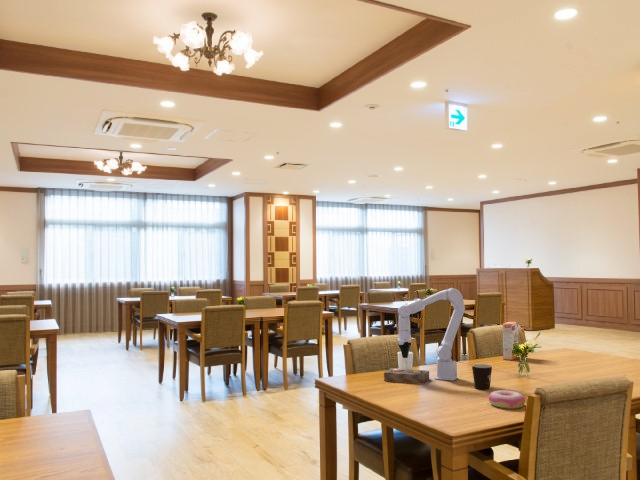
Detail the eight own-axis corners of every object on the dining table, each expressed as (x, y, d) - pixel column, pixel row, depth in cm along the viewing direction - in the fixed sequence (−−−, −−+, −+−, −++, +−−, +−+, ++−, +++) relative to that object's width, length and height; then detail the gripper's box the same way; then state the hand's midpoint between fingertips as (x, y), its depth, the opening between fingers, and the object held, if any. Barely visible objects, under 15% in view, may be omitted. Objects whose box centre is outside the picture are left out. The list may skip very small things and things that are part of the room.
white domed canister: (422, 379, 265) (422, 371, 265) (419, 381, 261) (419, 373, 261) (412, 378, 267) (412, 371, 267) (409, 380, 263) (409, 372, 263)
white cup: (396, 372, 283) (395, 353, 284) (399, 370, 291) (399, 350, 291) (411, 373, 280) (411, 354, 281) (414, 371, 288) (414, 351, 288)
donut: (484, 407, 215) (484, 394, 215) (494, 400, 226) (494, 387, 226) (520, 412, 208) (519, 398, 208) (528, 404, 219) (528, 391, 219)
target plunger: (404, 376, 269) (404, 368, 269) (401, 377, 264) (401, 370, 265) (394, 375, 271) (394, 368, 271) (391, 377, 266) (391, 369, 267)
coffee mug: (482, 391, 240) (481, 368, 241) (468, 387, 248) (467, 365, 248) (501, 388, 246) (501, 366, 246) (487, 384, 253) (487, 363, 254)
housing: (429, 379, 267) (429, 370, 267) (423, 384, 256) (423, 375, 257) (391, 376, 275) (391, 368, 275) (384, 380, 264) (384, 372, 264)
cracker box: (513, 360, 315) (512, 323, 316) (502, 359, 318) (501, 323, 319) (519, 357, 327) (518, 321, 328) (509, 356, 330) (508, 321, 331)
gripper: (400, 328, 280) (401, 355, 279) (392, 331, 267) (393, 359, 266) (414, 328, 277) (414, 355, 276) (406, 331, 264) (407, 360, 263)
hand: (405, 357), depth 271 cm, fingers closed
